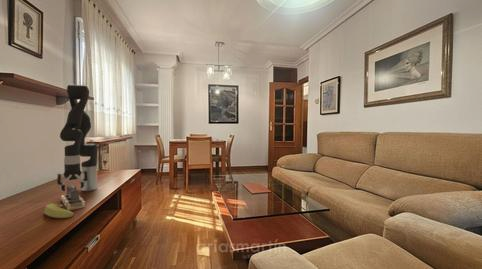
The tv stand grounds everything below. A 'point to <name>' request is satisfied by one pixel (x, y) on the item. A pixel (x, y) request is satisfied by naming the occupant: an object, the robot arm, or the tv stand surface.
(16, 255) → the tv stand surface
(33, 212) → the tv stand surface
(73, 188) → the peg
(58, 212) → the banana
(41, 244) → the tv stand surface
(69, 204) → the pin board
